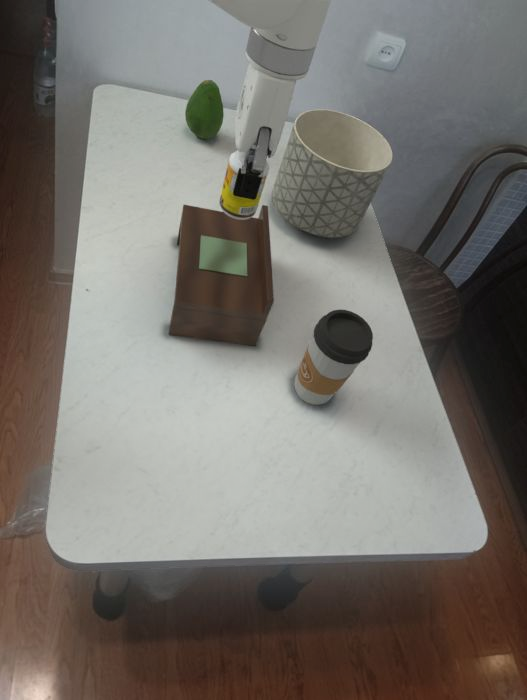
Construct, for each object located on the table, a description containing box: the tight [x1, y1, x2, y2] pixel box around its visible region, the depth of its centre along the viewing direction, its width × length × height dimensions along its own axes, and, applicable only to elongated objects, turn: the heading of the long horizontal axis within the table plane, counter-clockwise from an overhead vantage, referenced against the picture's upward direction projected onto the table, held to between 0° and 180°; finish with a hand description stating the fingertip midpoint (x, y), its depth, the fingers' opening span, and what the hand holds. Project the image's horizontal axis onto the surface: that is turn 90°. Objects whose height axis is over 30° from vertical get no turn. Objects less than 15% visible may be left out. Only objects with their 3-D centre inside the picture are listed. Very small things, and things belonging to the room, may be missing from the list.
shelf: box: [168, 204, 275, 347], centre depth 88 cm, size 14×22×11 cm, turn 2°
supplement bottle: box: [219, 145, 270, 220], centre depth 75 cm, size 6×6×10 cm
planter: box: [271, 108, 394, 239], centre depth 105 cm, size 19×19×18 cm
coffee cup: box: [293, 309, 374, 406], centre depth 79 cm, size 8×8×15 cm
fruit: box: [184, 79, 225, 140], centre depth 114 cm, size 8×8×12 cm
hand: (244, 181), depth 75 cm, fingers closed on supplement bottle, 5 cm apart
